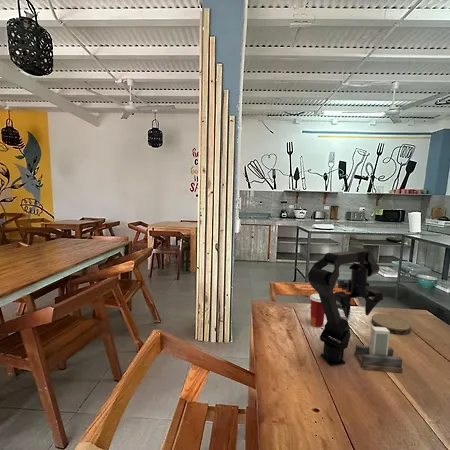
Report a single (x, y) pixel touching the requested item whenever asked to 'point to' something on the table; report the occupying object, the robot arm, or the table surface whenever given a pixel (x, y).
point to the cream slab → (379, 341)
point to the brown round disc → (391, 323)
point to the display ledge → (378, 360)
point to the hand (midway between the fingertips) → (356, 316)
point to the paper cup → (316, 311)
